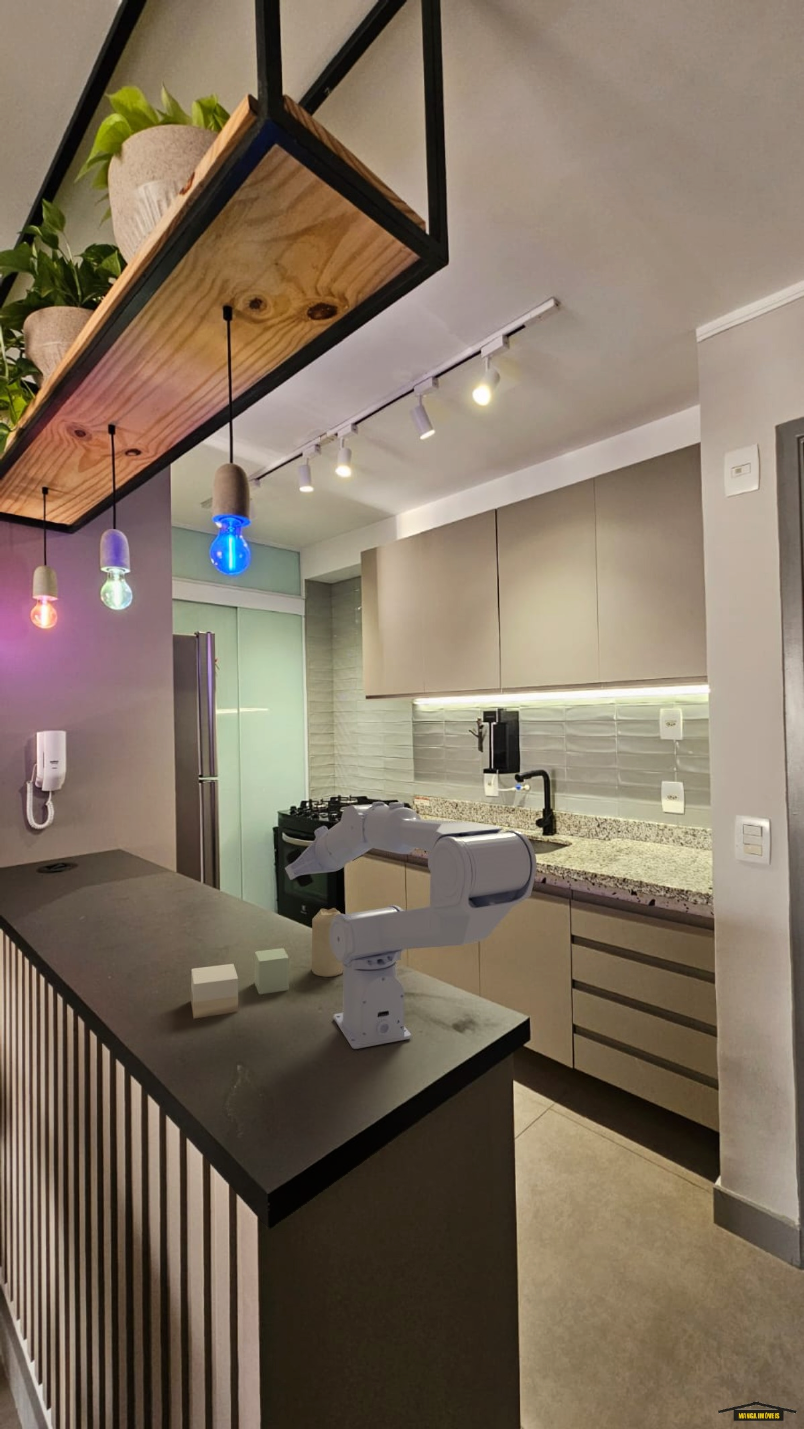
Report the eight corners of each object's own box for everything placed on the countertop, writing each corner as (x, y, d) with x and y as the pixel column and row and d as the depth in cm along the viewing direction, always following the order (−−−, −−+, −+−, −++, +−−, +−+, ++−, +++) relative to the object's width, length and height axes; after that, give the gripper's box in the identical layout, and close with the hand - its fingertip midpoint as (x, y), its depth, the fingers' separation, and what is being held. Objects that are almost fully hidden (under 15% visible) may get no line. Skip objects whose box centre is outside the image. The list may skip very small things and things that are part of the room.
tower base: (237, 1014, 90) (238, 996, 90) (193, 1020, 88) (193, 1002, 88) (232, 997, 95) (232, 980, 96) (190, 1003, 93) (191, 986, 93)
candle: (305, 973, 104) (305, 912, 104) (324, 962, 109) (324, 903, 109) (333, 979, 101) (333, 916, 102) (351, 968, 106) (352, 908, 106)
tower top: (237, 996, 90) (238, 978, 90) (193, 1002, 88) (193, 984, 88) (233, 980, 96) (233, 963, 96) (191, 985, 93) (191, 968, 93)
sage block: (288, 990, 97) (288, 957, 98) (259, 994, 96) (259, 961, 96) (282, 979, 102) (283, 948, 102) (254, 983, 100) (254, 951, 100)
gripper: (368, 801, 99) (335, 826, 109) (289, 838, 90) (261, 861, 100) (390, 841, 97) (354, 862, 108) (311, 883, 89) (281, 902, 99)
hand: (310, 864), depth 104 cm, fingers open, 7 cm apart
